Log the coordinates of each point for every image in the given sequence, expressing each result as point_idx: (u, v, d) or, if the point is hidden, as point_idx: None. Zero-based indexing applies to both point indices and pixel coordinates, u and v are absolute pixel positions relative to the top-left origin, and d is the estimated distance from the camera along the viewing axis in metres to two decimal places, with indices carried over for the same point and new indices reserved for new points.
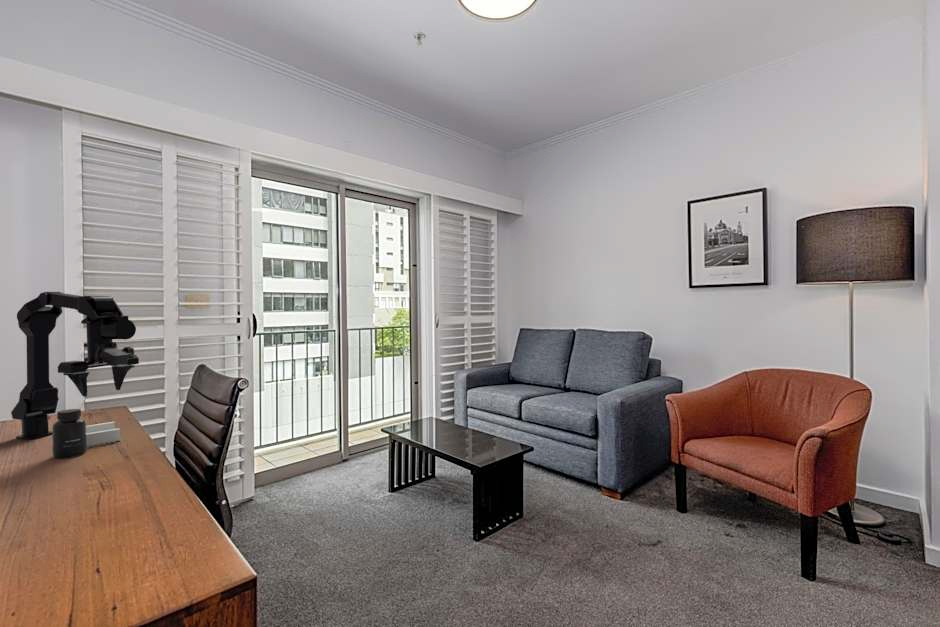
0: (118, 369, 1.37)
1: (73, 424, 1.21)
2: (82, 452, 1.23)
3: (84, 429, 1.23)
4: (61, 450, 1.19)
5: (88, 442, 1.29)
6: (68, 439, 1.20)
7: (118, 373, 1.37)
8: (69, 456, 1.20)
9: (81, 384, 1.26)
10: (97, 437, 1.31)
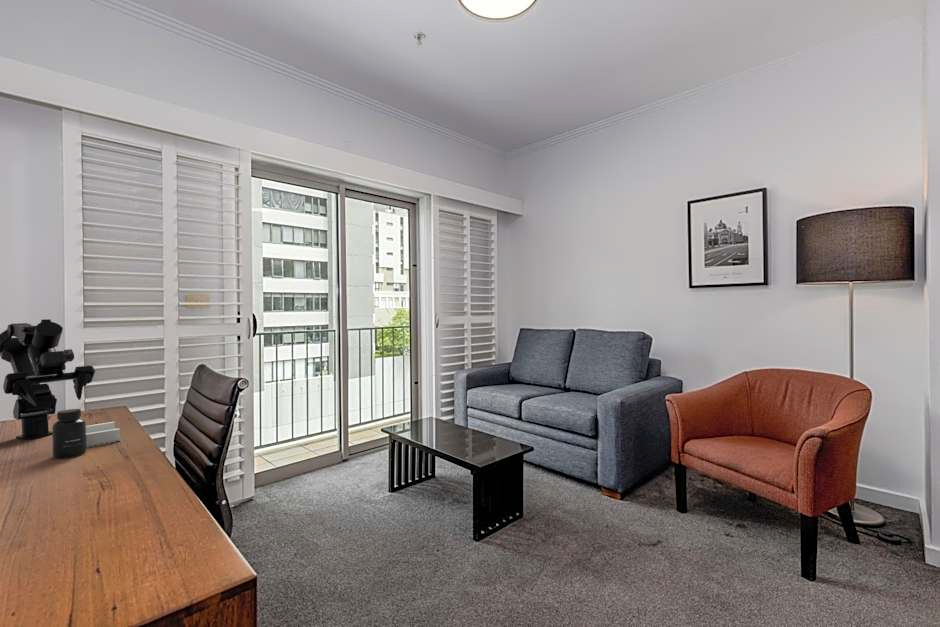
0: (76, 382, 1.33)
1: (73, 424, 1.21)
2: (82, 452, 1.23)
3: (84, 429, 1.23)
4: (61, 450, 1.19)
5: (88, 442, 1.29)
6: (68, 439, 1.20)
7: (76, 385, 1.32)
8: (69, 456, 1.20)
9: (27, 393, 1.23)
10: (97, 437, 1.31)
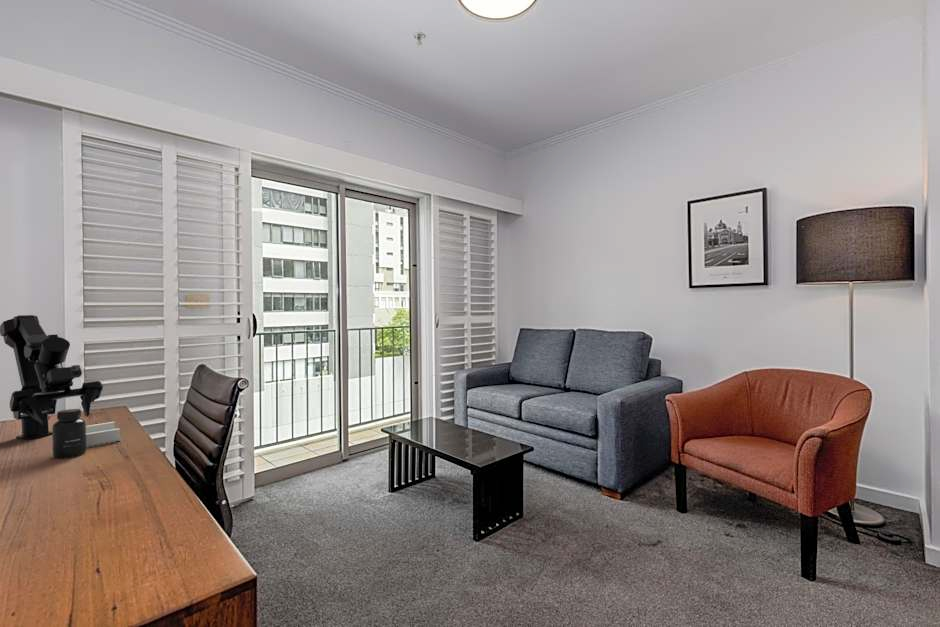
0: (83, 398, 1.30)
1: (73, 424, 1.21)
2: (82, 452, 1.23)
3: (84, 429, 1.23)
4: (61, 450, 1.19)
5: (88, 442, 1.29)
6: (68, 439, 1.20)
7: (84, 401, 1.29)
8: (69, 456, 1.20)
9: (34, 411, 1.20)
10: (97, 437, 1.31)
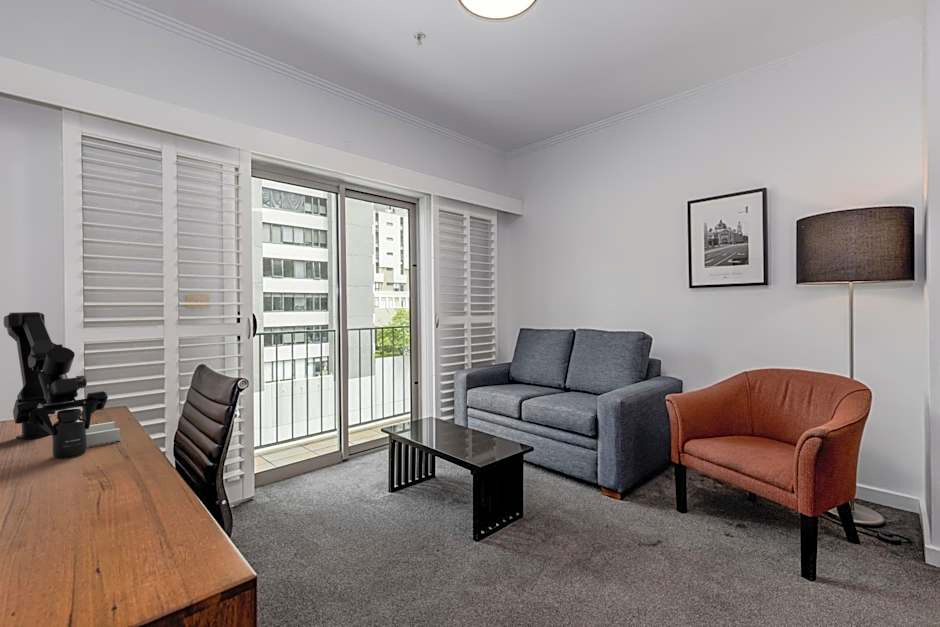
0: (83, 410, 1.27)
1: (73, 424, 1.21)
2: (82, 452, 1.23)
3: (84, 429, 1.23)
4: (61, 450, 1.19)
5: (88, 442, 1.29)
6: (68, 439, 1.20)
7: (84, 413, 1.27)
8: (69, 456, 1.20)
9: (44, 422, 1.19)
10: (97, 437, 1.31)
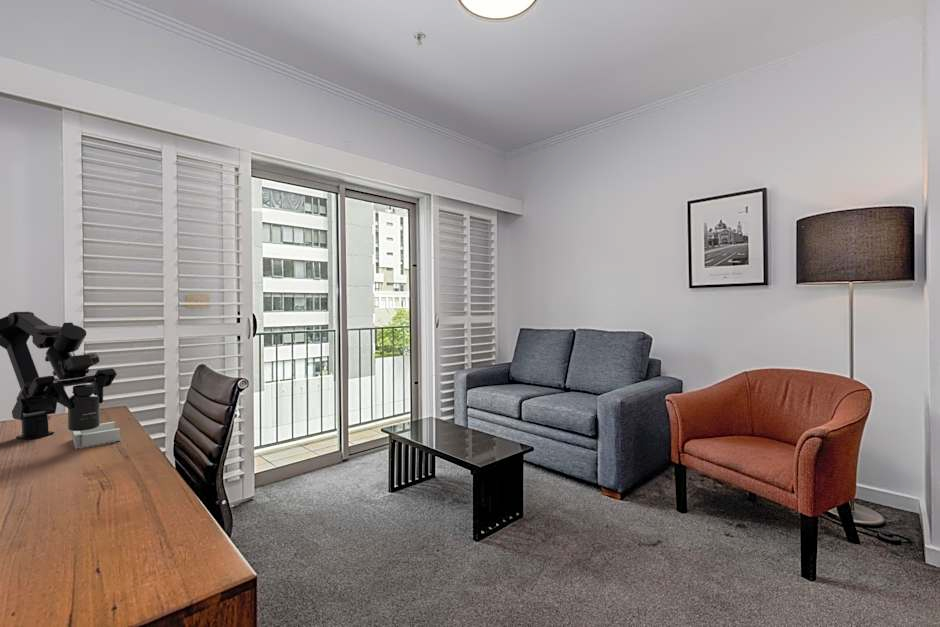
0: None
1: (90, 398, 1.26)
2: (97, 425, 1.29)
3: (99, 403, 1.29)
4: (78, 422, 1.25)
5: (88, 442, 1.29)
6: (86, 412, 1.26)
7: (95, 388, 1.32)
8: (86, 428, 1.26)
9: (61, 396, 1.24)
10: (97, 437, 1.31)
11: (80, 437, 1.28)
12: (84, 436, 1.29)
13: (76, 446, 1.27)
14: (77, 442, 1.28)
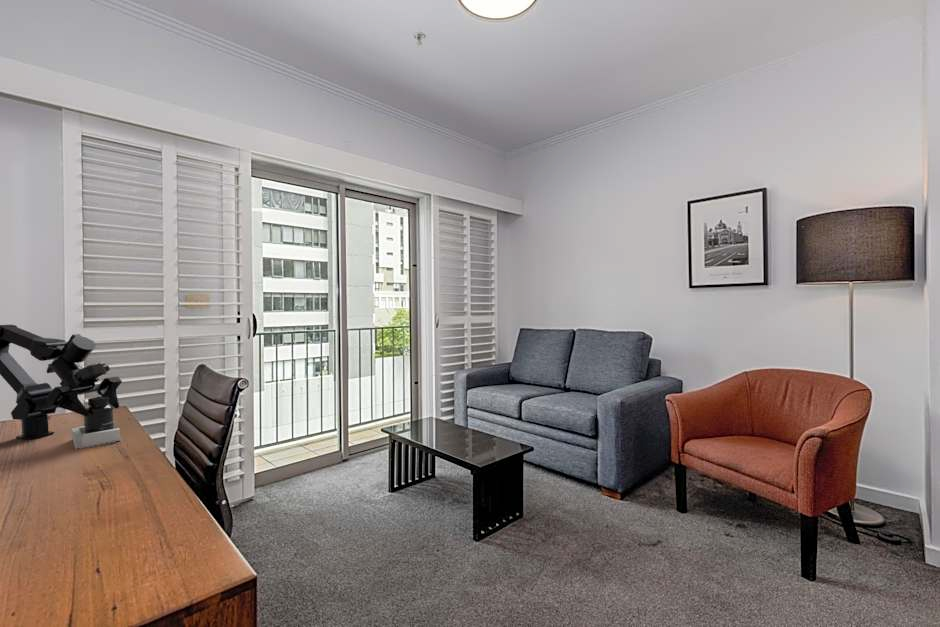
0: (107, 392, 1.41)
1: (107, 409, 1.35)
2: None
3: (113, 413, 1.38)
4: None
5: (88, 442, 1.29)
6: (104, 422, 1.34)
7: (109, 395, 1.41)
8: None
9: (77, 405, 1.30)
10: (97, 437, 1.31)
11: (80, 437, 1.28)
12: (84, 436, 1.29)
13: (76, 446, 1.27)
14: (77, 442, 1.28)
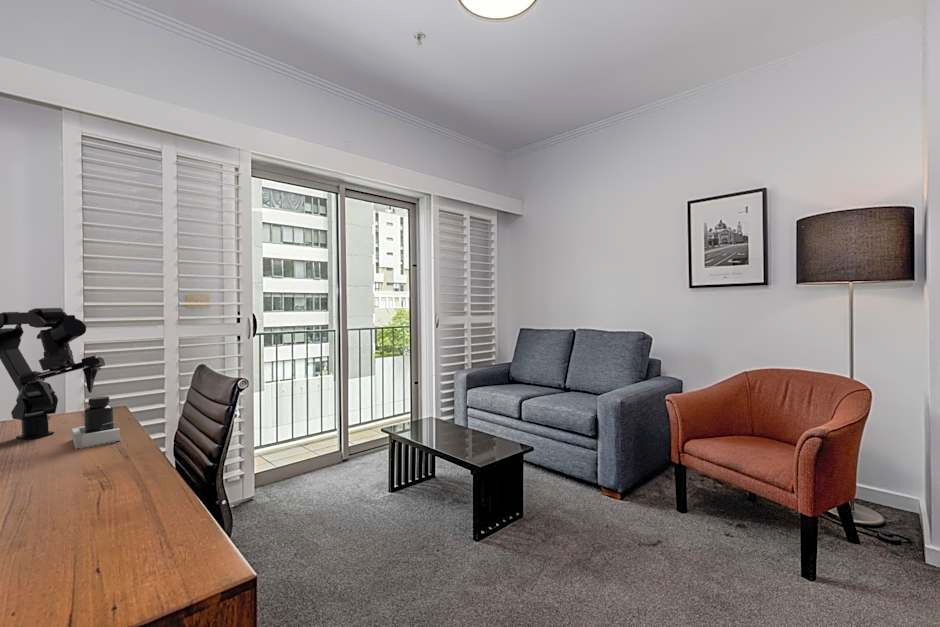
0: None
1: (108, 409, 1.35)
2: None
3: (113, 413, 1.38)
4: None
5: (88, 442, 1.29)
6: (105, 422, 1.34)
7: None
8: None
9: None
10: (97, 437, 1.31)
11: (80, 437, 1.28)
12: (84, 436, 1.29)
13: (76, 446, 1.27)
14: (77, 442, 1.28)
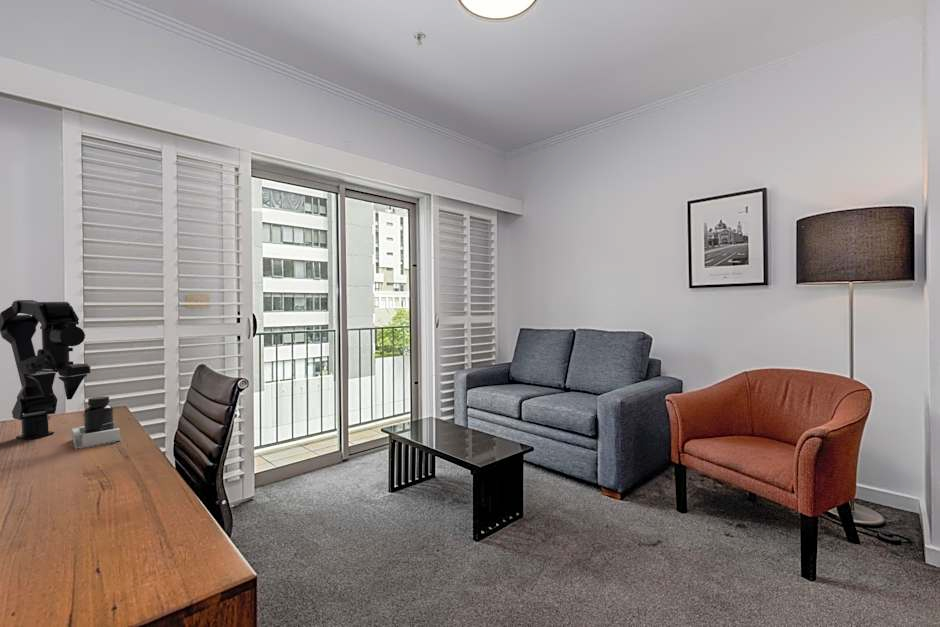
0: None
1: (108, 409, 1.35)
2: None
3: (113, 413, 1.38)
4: None
5: (88, 442, 1.29)
6: (104, 422, 1.34)
7: None
8: None
9: None
10: (97, 437, 1.31)
11: (80, 437, 1.28)
12: (84, 436, 1.29)
13: (76, 446, 1.27)
14: (77, 442, 1.28)
